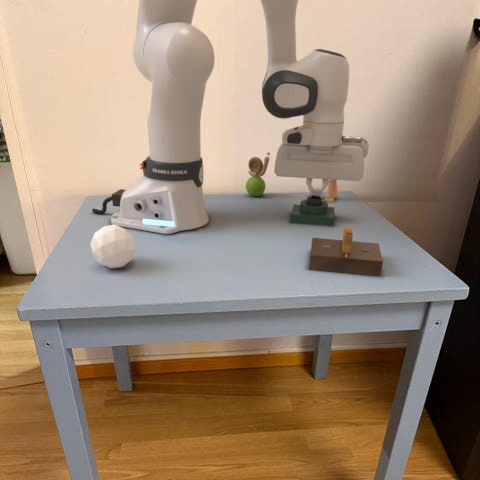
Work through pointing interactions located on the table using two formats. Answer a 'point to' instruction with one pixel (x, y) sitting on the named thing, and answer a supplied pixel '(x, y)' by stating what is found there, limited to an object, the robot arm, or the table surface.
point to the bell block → (313, 214)
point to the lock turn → (347, 240)
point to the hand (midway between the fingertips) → (315, 197)
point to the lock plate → (345, 257)
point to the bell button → (314, 201)
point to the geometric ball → (113, 246)
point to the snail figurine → (256, 176)
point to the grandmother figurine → (331, 190)
